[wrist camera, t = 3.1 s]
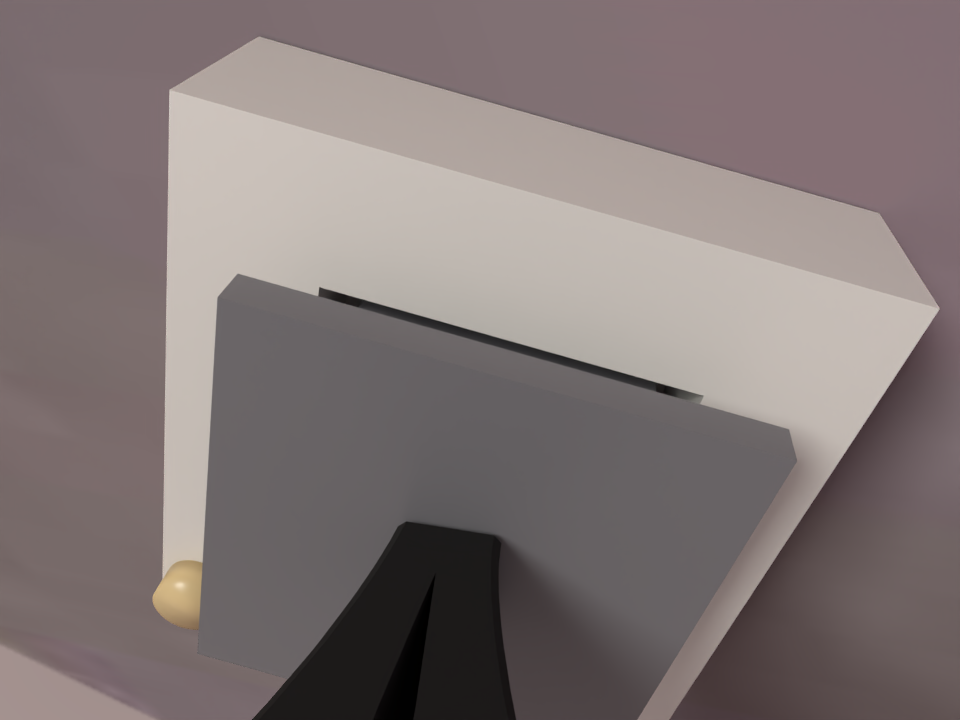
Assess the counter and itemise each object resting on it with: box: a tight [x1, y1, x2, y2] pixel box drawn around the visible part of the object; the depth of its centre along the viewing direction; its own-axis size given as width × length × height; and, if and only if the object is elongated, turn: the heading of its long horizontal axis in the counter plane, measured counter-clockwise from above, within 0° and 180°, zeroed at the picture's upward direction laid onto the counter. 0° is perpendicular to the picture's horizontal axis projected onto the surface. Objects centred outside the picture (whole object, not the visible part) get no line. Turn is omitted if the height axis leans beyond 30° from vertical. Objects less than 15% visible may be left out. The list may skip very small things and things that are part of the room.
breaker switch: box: [197, 274, 797, 720], centre depth 13 cm, size 7×7×4 cm
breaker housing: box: [153, 37, 940, 720], centre depth 14 cm, size 10×10×4 cm
